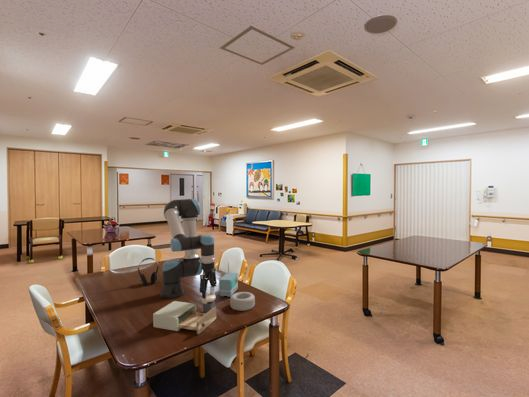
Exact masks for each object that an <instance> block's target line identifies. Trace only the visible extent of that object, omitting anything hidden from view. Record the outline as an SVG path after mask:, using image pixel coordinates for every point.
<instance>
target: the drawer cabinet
mask: <svg viewBox="0 0 529 397" xmlns="http://www.w3.org/2000/svg"><path fill="white" fill-rule="evenodd" d="M197 308H198V307H197V305H196V303H193V302H184V301H177V300H174V301H172V302H170V303H168V304H167V305H165V306H164V307H162V308H160V309H159V310H157V311H155V312H154V313H153V314H152V319H153V320H152V322H153V328H157V329H164V330H168V331H175V332H178V331H180V330H181V329H182V328H179V322H180V321H182V320H183V319H184V318H186V317H187V316H188V315H190V312H197V311H198V310H197ZM197 313H198V312H197Z"/></svg>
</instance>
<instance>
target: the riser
mask: <svg viewBox="0 0 529 397" xmlns="http://www.w3.org/2000/svg"><path fill="white" fill-rule="evenodd" d="M213 307H216V300H214V301H211V302H207V304H204V303H202V311H203V312H202V313H204V314H206V313H207V312H208V311H210V310H211V309H212V308H213Z"/></svg>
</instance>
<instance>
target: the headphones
mask: <svg viewBox="0 0 529 397" xmlns="http://www.w3.org/2000/svg"><path fill="white" fill-rule="evenodd" d="M147 260H153V261H155V262H156V264H157V266H156V267H157V268H156V271H153V272H152V273H151V276H150V283H151V284H155V283H156V282H157V280H158V270H159V262H158V261H157V260H156V259H155V258H152V257H146V258H144V259H143V260H141V262H140V263H139V264H138V267H137V271H138V275H139V280H140V282H141V283H142V285H144V286H147V285H148V279H147V277H146V276H145V274H144V273H141V271H140V265H141V264H142V263H143V262H145V261H147Z"/></svg>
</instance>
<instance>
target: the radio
mask: <svg viewBox="0 0 529 397" xmlns="http://www.w3.org/2000/svg"><path fill="white" fill-rule="evenodd" d="M229 265H230V262H229V261H228V262H227V272H226V273H225V274H224V275H222V277H221V278H220V279H219V280H218V282H219V283H218V284H219V285H218V286H219V296H220V297H224V296H227V297H228V298H229V297H231V296H232V295H233V294H235V293H236V291H237V290H238V289H239V276H238V275H239V274H238V273H237V272H229V268H230V267H229Z"/></svg>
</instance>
